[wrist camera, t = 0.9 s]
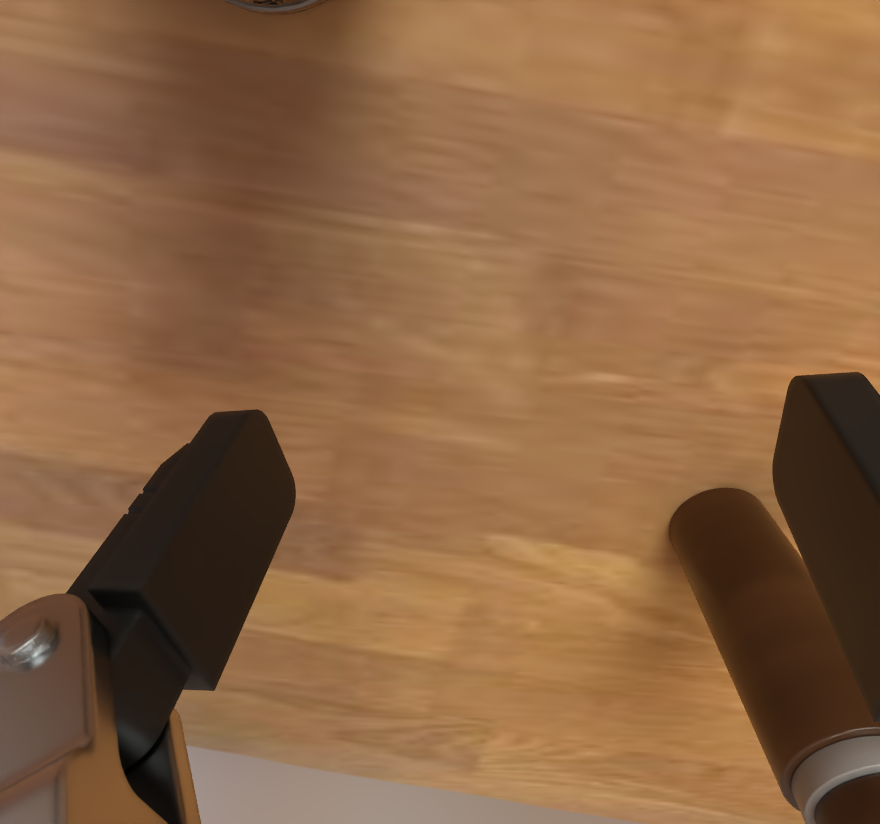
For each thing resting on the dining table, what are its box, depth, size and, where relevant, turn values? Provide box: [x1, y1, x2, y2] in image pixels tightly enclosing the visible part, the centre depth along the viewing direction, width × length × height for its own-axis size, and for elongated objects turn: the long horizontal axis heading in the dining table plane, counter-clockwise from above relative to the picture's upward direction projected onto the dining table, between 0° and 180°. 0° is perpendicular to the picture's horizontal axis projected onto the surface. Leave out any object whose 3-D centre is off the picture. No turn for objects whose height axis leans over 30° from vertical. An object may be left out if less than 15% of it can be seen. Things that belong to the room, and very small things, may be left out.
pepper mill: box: [669, 488, 880, 824], centre depth 25 cm, size 5×5×18 cm
